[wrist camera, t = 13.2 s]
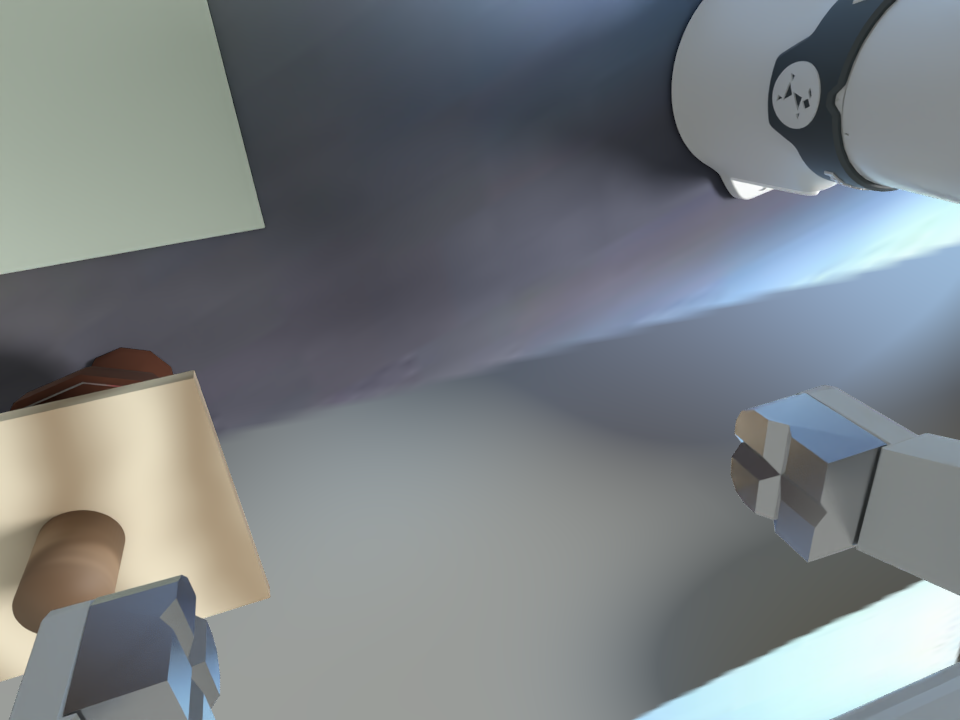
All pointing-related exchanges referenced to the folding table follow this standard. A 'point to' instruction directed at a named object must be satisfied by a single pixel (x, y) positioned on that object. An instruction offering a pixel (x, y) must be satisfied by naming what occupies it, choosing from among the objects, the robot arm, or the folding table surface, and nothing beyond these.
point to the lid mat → (115, 131)
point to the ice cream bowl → (100, 377)
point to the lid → (117, 507)
